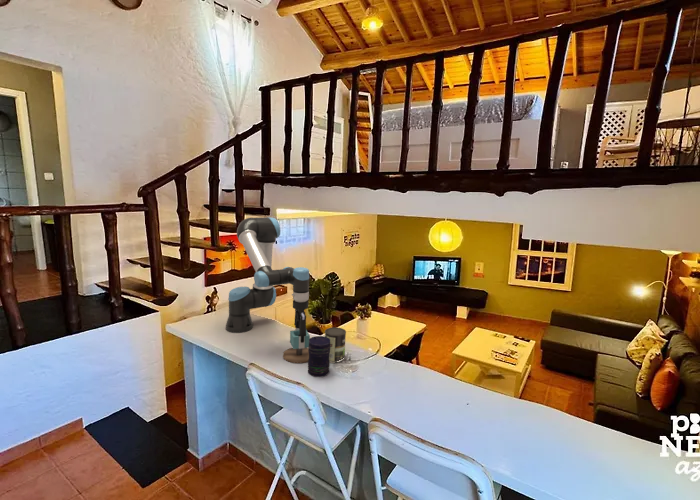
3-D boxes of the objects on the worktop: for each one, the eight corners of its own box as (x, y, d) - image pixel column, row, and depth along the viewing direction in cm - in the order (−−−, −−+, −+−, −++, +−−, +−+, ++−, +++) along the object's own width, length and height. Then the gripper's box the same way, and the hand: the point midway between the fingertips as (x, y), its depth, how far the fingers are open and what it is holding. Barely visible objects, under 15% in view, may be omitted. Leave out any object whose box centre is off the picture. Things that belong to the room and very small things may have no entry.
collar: (290, 342, 177) (290, 330, 176) (305, 340, 179) (306, 329, 178) (293, 349, 169) (293, 337, 168) (309, 347, 172) (309, 335, 171)
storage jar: (333, 371, 161) (335, 341, 159) (317, 379, 154) (318, 347, 152) (319, 363, 168) (320, 334, 166) (303, 370, 161) (303, 340, 158)
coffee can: (345, 354, 180) (346, 327, 177) (344, 363, 169) (345, 336, 167) (324, 352, 180) (325, 326, 177) (322, 362, 170) (323, 334, 167)
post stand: (280, 350, 180) (280, 333, 178) (311, 346, 186) (311, 330, 184) (286, 365, 165) (286, 347, 164) (319, 361, 171) (319, 343, 169)
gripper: (288, 294, 179) (288, 336, 183) (297, 307, 160) (296, 354, 163) (303, 293, 182) (302, 335, 185) (313, 306, 162) (312, 352, 166)
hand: (299, 344), depth 174 cm, fingers closed on collar, 8 cm apart
